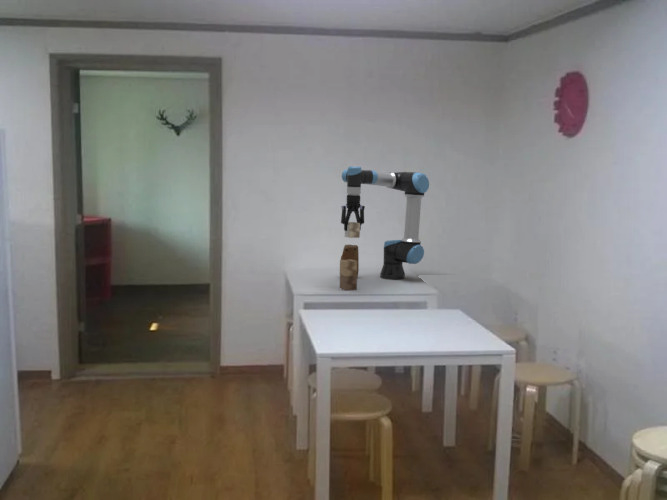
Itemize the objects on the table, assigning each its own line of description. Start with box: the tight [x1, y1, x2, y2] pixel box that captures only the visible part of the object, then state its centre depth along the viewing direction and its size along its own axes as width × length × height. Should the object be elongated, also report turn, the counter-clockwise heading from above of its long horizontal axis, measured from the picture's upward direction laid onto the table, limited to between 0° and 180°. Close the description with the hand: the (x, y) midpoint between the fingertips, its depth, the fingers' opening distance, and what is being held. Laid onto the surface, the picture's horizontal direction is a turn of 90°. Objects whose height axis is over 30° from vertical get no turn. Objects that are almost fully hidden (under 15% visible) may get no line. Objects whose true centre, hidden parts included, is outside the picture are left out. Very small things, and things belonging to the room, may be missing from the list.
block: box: [340, 244, 360, 278], centre depth 438 cm, size 11×8×20 cm
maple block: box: [347, 221, 361, 239], centre depth 399 cm, size 6×6×8 cm
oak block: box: [339, 259, 357, 276], centre depth 402 cm, size 7×7×8 cm
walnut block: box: [339, 273, 358, 291], centre depth 403 cm, size 7×7×8 cm
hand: (352, 236), depth 400 cm, fingers closed on maple block, 6 cm apart
